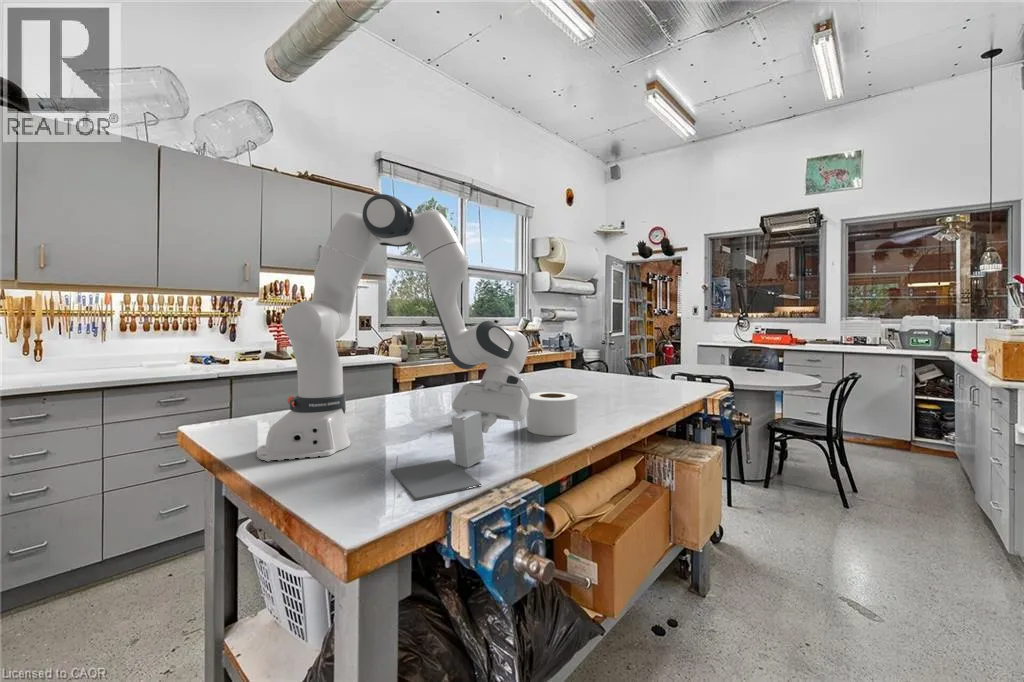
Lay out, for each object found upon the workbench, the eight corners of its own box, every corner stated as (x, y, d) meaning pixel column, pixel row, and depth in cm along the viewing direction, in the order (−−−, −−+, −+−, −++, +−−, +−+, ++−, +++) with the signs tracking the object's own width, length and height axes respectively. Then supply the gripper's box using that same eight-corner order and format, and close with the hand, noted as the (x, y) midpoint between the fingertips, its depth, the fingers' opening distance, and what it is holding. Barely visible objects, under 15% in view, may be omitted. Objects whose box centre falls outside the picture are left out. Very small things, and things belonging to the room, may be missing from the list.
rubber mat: (415, 500, 85) (415, 497, 85) (390, 471, 101) (390, 469, 101) (481, 486, 92) (481, 483, 92) (448, 461, 108) (448, 459, 108)
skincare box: (472, 455, 110) (468, 408, 108) (485, 459, 107) (481, 411, 105) (454, 465, 105) (449, 416, 104) (468, 469, 103) (463, 419, 101)
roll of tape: (527, 423, 146) (527, 390, 145) (575, 424, 145) (575, 391, 144) (526, 436, 130) (526, 399, 130) (579, 437, 129) (579, 400, 129)
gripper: (460, 375, 119) (438, 419, 111) (528, 379, 109) (509, 428, 101) (470, 389, 123) (449, 432, 115) (536, 394, 113) (519, 442, 105)
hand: (478, 430), depth 108 cm, fingers closed
